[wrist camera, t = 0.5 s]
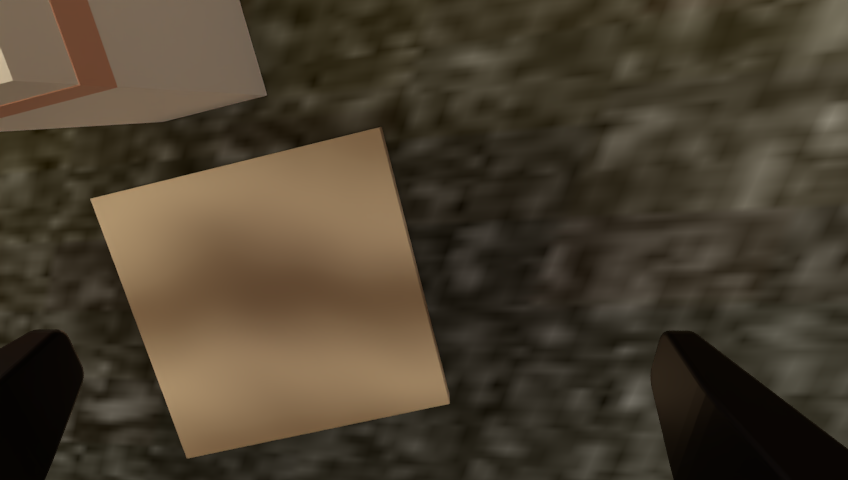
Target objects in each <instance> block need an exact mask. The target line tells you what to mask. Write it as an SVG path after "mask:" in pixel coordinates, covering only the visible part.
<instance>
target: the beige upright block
mask: <svg viewBox="0 0 848 480" xmlns="http://www.w3.org/2000/svg"><path fill="white" fill-rule="evenodd" d="M263 96H267V93H266V89H265V86H264V82H263V79H262V76H261V72H260V69H259V65H258V62H257V59H256V55H255V52H254V48H253V45H252V41H251V38H250V35H249V31H248V28H247V24H246V21H245V18H244V14H243V11H242V7H241V4H240V1H239V0H0V132H2V131H18V130H35V129H52V128H69V127H85V126H102V125H119V124H135V123H152V122H165V121H169V120H173V119H177V118H181V117H185V116H189V115H193V114H197V113H201V112H205V111H208V110H212V109H216V108H220V107H224V106H228V105H232V104H236V103H240V102H244V101H248V100H252V99H255V98H259V97H263Z"/></svg>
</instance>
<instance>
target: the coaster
mask: <svg viewBox="0 0 848 480" xmlns="http://www.w3.org/2000/svg"><path fill="white" fill-rule="evenodd" d="M91 202H92V205H93V207H94V210H95V213H96V216H97V218H98V221H99V224H100V226H101V229H102V232H103V234H104V237H105V240H106V242H107V245H108V248H109V250H110V253H111V256H112V258H113V261H114V264H115V267H116V269H117V272H118V275H119V277H120V280H121V283H122V285H123V288H124V291H125V293H126V296H127V299H128V301H129V304H130V307H131V309H132V312H133V315H134V318H135V320H136V323H137V326H138V328H139V331H140V334H141V336H142V339H143V342H144V344H145V347H146V350H147V352H148V355H149V358H150V360H151V363H152V366H153V369H154V371H155V374H156V377H157V379H158V382H159V385H160V387H161V390H162V393H163V395H164V398H165V401H166V403H167V406H168V409H169V411H170V414H171V417H172V420H173V422H174V425H175V428H176V430H177V433H178V436H179V438H180V441H181V444H182V446H183V449H184V452H185V454H186V457H187V458H192V457H197V456H201V455H206V454H211V453H216V452H221V451H225V450H230V449H235V448H240V447H245V446H249V445H254V444H259V443H264V442H269V441H273V440H278V439H283V438H288V437H293V436H297V435H302V434H307V433H312V432H317V431H321V430H326V429H331V428H336V427H341V426H345V425H350V424H355V423H360V422H365V421H369V420H374V419H379V418H384V417H389V416H393V415H398V414H403V413H408V412H413V411H417V410H422V409H427V408H432V407H437V406H441V405H446V404H450V397H449V391H448V387H447V383H446V379H445V375H444V371H443V367H442V363H441V359H440V355H439V351H438V347H437V343H436V339H435V335H434V331H433V327H432V324H431V320H430V316H429V312H428V308H427V304H426V300H425V296H424V292H423V288H422V284H421V280H420V276H419V272H418V268H417V264H416V261H415V257H414V253H413V249H412V245H411V241H410V237H409V233H408V229H407V225H406V221H405V217H404V213H403V209H402V205H401V201H400V197H399V194H398V190H397V186H396V182H395V178H394V174H393V170H392V166H391V162H390V158H389V154H388V150H387V146H386V142H385V138H384V134H383V131H382V127H378V128H374V129H370V130H366V131H362V132H358V133H354V134H350V135H346V136H342V137H338V138H334V139H329V140H325V141H321V142H317V143H313V144H309V145H305V146H301V147H297V148H293V149H289V150H285V151H281V152H277V153H273V154H269V155H265V156H261V157H257V158H253V159H249V160H245V161H241V162H237V163H233V164H228V165H224V166H220V167H216V168H212V169H208V170H204V171H200V172H196V173H192V174H188V175H184V176H180V177H176V178H172V179H168V180H164V181H160V182H156V183H152V184H148V185H144V186H140V187H136V188H132V189H127V190H123V191H119V192H115V193H111V194H107V195H103V196H99V197H96V198H92V199H91Z"/></svg>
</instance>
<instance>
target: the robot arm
mask: <svg viewBox="0 0 848 480" xmlns="http://www.w3.org/2000/svg"><path fill="white" fill-rule="evenodd" d="M83 378H84V372H83V367H82V364H81V362H80V360H79V358H78V356H77V354H76V352H75V350H74V347H73V345H72V343H71V341H70V339H69V337H68V335H67V334H66V333H65V332H63V331H61V330H40V329H39V330H33V331H30V332H28V333H27V334H25V335H23V336H21V337H20V338H18V339H16V340H14V341H13V342H11V343H9V344H7V345H6V346H4V347H2V348H0V480H45V478H46V476H47V473H48V471H49V468H50V466H51V464H52V461H53V459H54V456H55V454H56V451H57V449H58V446H59V443H60V441H61V438H62V436H63V433H64V430H65V428H66V425H67V423H68V420H69V417H70V415H71V412H72V410H73V407H74V404H75V402H76V399H77V396H78V394H79V391H80V389H81V386H82V383H83ZM651 386H652V390H653V395H654V399H655V403H656V408H657V412H658V416H659V420H660V425H661V429H662V433H663V438H664V442H665V446H666V450H667V455H668V459H669V463H670V467H671V471H672V475H673V479H674V480H848V449H847V448H846V447H844V446H843V445H842V444H840V443H839V442H838V441H837V440H835V439H834V438H833V437H831V436H830V435H829V434H827V433H826V432H825V431H823V430H822V429H821V428H820V427H818V426H817V425H816V424H814V423H813V422H812V421H810V420H809V419H808V418H806V417H805V416H804V415H802V414H801V413H800V412H799V411H797V410H796V409H795V408H793V407H792V406H791V405H789V404H788V403H787V402H785V401H784V400H783V399H781V398H780V397H779V396H778V395H776V394H775V393H774V392H772V391H771V390H770V389H768V388H767V387H766V386H764V385H763V384H762V383H760V382H759V381H758V380H757V379H755V378H754V377H753V376H751V375H750V374H749V373H747V372H746V371H745V370H743V369H742V368H741V367H739V366H738V365H737V364H736V363H734V362H733V361H732V360H730V359H729V358H728V357H726V356H725V355H724V354H722V353H721V352H720V351H718V350H717V349H716V348H715V347H713V346H712V345H711V344H709V343H708V342H707V341H705V340H704V339H703V338H701V337H700V336H699V335H697V334H696V333H694V332H692V331H666V332H664V333H663V334H662V335H661V337H660V340H659V344H658V347H657V351H656V354H655V358H654V361H653V365H652V369H651Z"/></svg>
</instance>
